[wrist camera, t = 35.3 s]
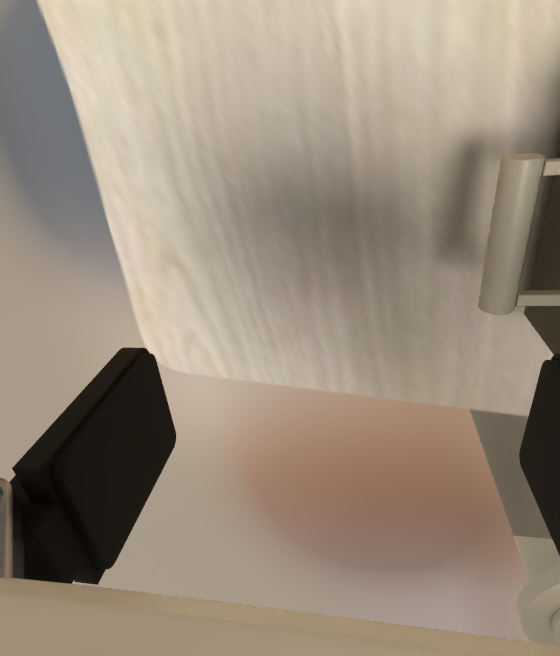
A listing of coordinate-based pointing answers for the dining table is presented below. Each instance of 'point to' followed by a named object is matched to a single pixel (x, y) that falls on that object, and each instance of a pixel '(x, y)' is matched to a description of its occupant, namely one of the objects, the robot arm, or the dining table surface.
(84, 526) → the robot arm
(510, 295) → the drawer
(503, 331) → the dining table surface
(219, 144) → the dining table surface
